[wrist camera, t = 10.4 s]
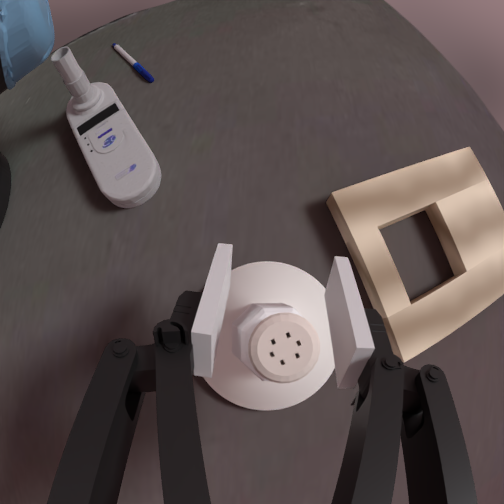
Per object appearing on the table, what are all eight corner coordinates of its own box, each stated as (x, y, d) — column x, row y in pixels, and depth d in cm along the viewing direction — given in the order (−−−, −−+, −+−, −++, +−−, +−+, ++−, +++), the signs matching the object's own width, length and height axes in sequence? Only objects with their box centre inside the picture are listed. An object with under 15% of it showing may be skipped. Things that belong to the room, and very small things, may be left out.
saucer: (172, 294, 24) (169, 293, 23) (305, 242, 25) (307, 240, 24) (225, 427, 22) (224, 430, 21) (359, 372, 23) (362, 373, 22)
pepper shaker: (286, 288, 23) (320, 256, 13) (316, 356, 22) (372, 379, 12) (217, 317, 23) (191, 310, 12) (246, 386, 22) (247, 436, 11)
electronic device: (69, 173, 16) (29, 58, 19) (121, 222, 26) (69, 115, 28) (143, 123, 17) (80, 25, 19) (173, 187, 27) (110, 88, 29)
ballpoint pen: (157, 80, 29) (155, 74, 28) (150, 85, 29) (148, 79, 28) (116, 45, 31) (114, 39, 30) (110, 49, 31) (108, 43, 30)
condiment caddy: (325, 202, 26) (331, 192, 24) (460, 155, 27) (469, 146, 26) (393, 360, 23) (404, 362, 21) (515, 276, 24) (527, 273, 23)
